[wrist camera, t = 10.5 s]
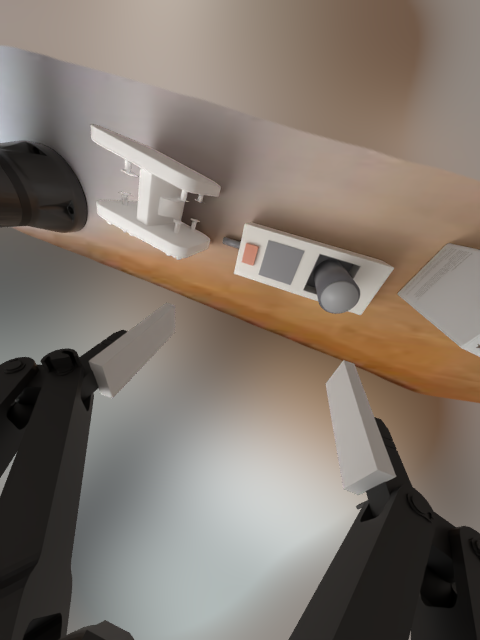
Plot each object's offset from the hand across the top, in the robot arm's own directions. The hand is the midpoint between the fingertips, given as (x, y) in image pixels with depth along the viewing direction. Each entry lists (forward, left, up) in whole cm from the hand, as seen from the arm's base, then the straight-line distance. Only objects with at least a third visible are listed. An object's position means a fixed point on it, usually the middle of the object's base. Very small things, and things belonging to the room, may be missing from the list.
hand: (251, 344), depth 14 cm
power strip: (-1, +2, -24) cm, 24 cm away
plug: (+2, +8, -22) cm, 24 cm away
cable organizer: (-15, -15, -24) cm, 32 cm away
